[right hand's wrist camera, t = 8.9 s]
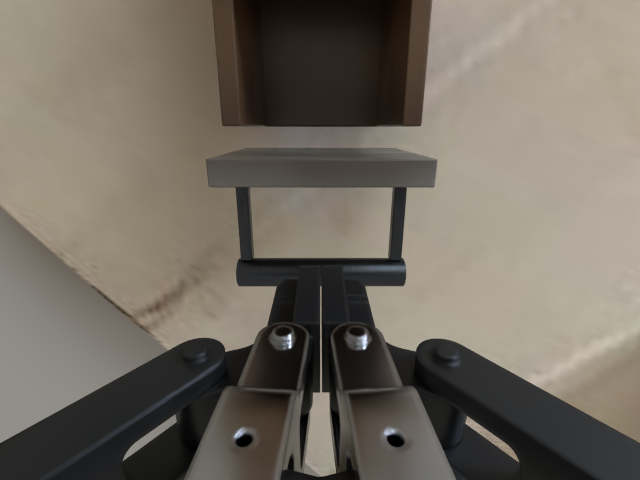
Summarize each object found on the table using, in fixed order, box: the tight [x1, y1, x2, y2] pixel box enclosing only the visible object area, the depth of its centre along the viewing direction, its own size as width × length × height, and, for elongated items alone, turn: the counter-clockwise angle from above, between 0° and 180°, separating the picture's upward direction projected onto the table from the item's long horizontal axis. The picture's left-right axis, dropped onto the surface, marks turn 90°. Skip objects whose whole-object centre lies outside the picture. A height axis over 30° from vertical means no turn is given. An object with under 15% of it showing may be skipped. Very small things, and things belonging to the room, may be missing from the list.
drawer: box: [206, 0, 437, 286], centre depth 18 cm, size 22×10×9 cm, turn 0°
